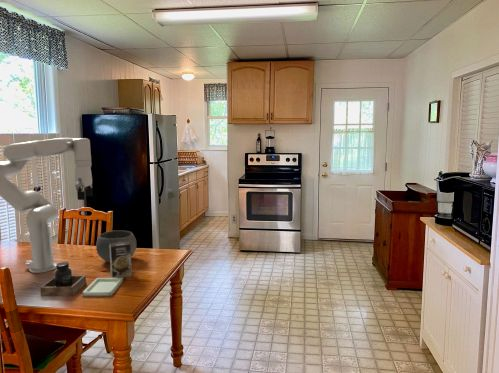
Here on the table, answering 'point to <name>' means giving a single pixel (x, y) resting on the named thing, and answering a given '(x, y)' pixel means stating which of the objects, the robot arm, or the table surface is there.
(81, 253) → the table surface
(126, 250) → the coffee box
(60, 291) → the holder
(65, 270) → the supplement bottle
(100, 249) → the bowl
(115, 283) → the tray
